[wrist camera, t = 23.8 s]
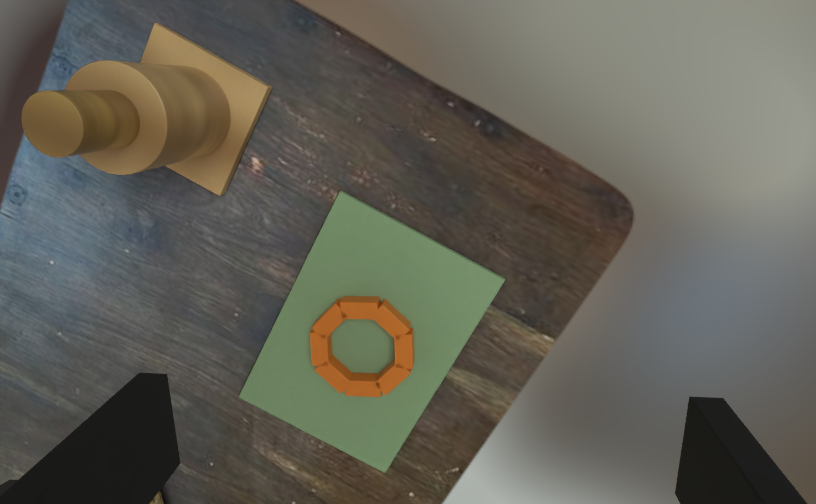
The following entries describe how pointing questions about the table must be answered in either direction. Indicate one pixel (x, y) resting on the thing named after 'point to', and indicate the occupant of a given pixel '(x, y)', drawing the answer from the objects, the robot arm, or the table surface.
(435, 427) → the table surface
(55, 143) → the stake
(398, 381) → the ring
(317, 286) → the mat
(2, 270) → the table surface
